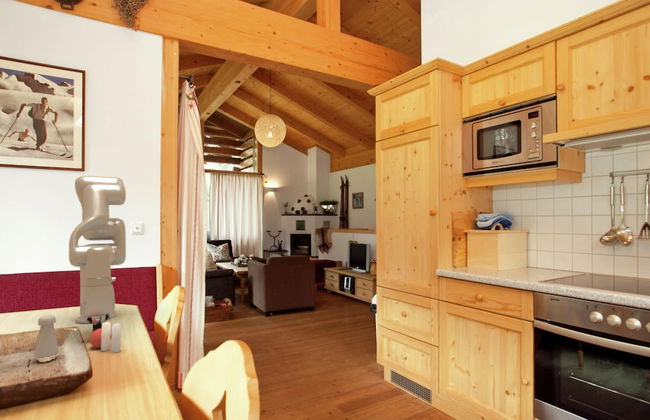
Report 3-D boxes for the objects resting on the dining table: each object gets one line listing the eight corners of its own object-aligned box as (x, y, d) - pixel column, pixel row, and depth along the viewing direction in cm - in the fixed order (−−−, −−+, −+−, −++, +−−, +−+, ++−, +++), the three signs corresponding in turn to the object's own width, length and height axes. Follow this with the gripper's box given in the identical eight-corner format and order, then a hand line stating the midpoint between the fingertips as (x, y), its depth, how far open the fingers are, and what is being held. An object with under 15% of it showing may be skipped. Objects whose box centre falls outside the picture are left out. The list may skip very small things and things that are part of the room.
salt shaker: (45, 364, 109) (45, 319, 109) (29, 363, 110) (29, 318, 110) (63, 357, 114) (63, 314, 115) (47, 355, 116) (47, 313, 116)
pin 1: (100, 348, 121) (101, 322, 120) (108, 347, 122) (109, 321, 122) (101, 351, 119) (102, 325, 118) (110, 350, 120) (111, 323, 120)
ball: (89, 342, 118) (89, 353, 121) (111, 338, 121) (111, 349, 125) (88, 326, 122) (89, 337, 125) (110, 323, 125) (109, 333, 128)
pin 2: (111, 351, 119) (111, 323, 119) (119, 349, 121) (119, 322, 121) (112, 353, 117) (112, 325, 118) (121, 351, 119) (121, 324, 119)
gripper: (119, 278, 139) (119, 328, 138) (71, 283, 129) (70, 337, 129) (124, 281, 133) (124, 333, 133) (74, 286, 124) (73, 342, 123)
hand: (97, 335), depth 131 cm, fingers closed
